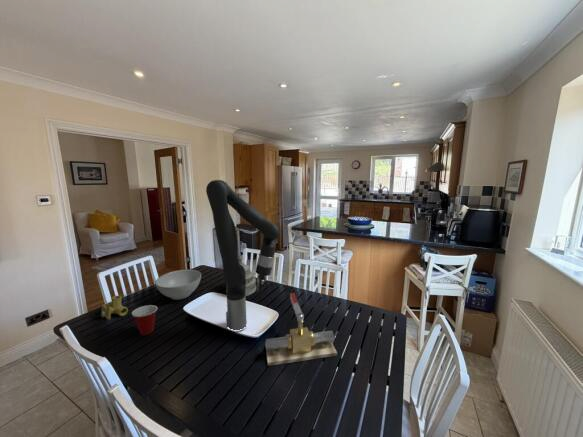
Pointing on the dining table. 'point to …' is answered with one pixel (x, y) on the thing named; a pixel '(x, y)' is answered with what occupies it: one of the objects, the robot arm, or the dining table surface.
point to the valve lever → (296, 308)
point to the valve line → (299, 340)
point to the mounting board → (287, 356)
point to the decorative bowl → (178, 283)
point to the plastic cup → (145, 318)
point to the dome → (248, 279)
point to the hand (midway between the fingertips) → (258, 295)
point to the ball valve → (114, 308)
